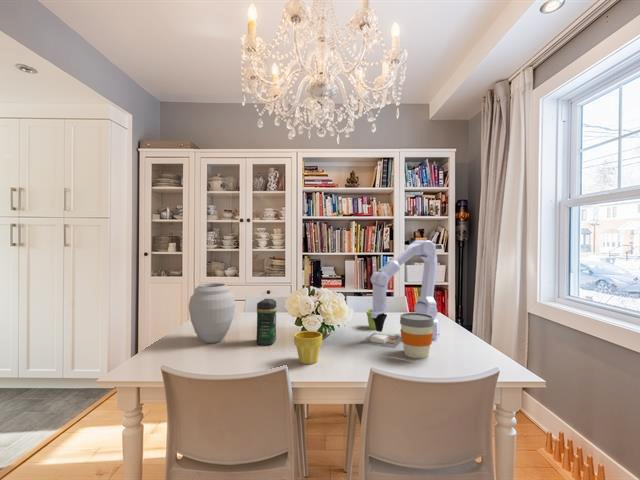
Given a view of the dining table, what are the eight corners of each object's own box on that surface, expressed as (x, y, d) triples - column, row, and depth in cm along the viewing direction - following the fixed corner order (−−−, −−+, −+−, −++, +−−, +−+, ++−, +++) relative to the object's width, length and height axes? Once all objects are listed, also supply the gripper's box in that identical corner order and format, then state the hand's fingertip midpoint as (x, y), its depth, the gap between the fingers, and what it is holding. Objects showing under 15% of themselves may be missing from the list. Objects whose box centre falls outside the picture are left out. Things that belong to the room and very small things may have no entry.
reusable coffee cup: (428, 363, 124) (429, 321, 123) (395, 356, 130) (395, 317, 130) (436, 353, 134) (437, 315, 134) (405, 347, 141) (405, 311, 141)
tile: (388, 335, 150) (384, 339, 145) (388, 340, 150) (384, 343, 145) (375, 333, 153) (370, 337, 148) (375, 338, 153) (370, 341, 148)
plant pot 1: (290, 358, 128) (290, 332, 128) (315, 354, 133) (315, 329, 133) (299, 368, 119) (299, 339, 119) (326, 363, 123) (327, 336, 123)
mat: (405, 338, 154) (405, 337, 154) (394, 349, 139) (394, 348, 139) (374, 333, 161) (374, 332, 161) (359, 343, 146) (359, 342, 146)
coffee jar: (273, 346, 142) (273, 301, 142) (254, 345, 143) (254, 301, 143) (278, 339, 152) (278, 297, 152) (260, 338, 153) (260, 297, 153)
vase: (178, 343, 146) (178, 286, 145) (212, 332, 163) (212, 281, 163) (212, 350, 137) (212, 289, 136) (244, 338, 154) (244, 283, 154)
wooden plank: (394, 336, 155) (394, 333, 155) (400, 337, 154) (400, 334, 154) (386, 343, 146) (386, 340, 146) (393, 344, 144) (393, 341, 144)
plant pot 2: (386, 331, 165) (386, 313, 165) (366, 331, 165) (366, 313, 165) (383, 326, 174) (383, 309, 174) (364, 326, 175) (364, 309, 175)
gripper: (376, 296, 157) (376, 326, 157) (364, 301, 144) (364, 334, 144) (391, 297, 153) (391, 328, 153) (380, 303, 141) (380, 336, 141)
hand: (379, 331), depth 148 cm, fingers closed
